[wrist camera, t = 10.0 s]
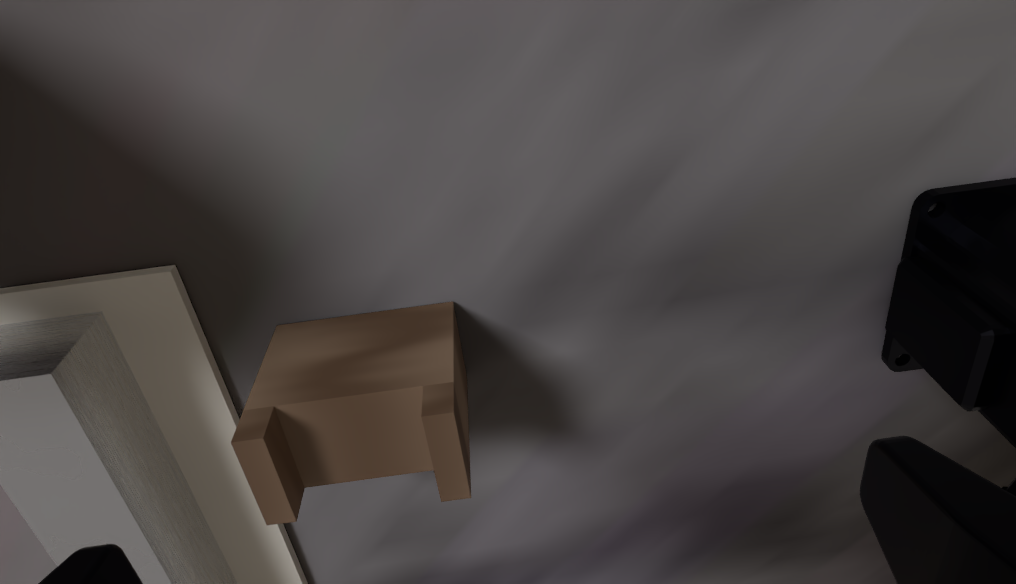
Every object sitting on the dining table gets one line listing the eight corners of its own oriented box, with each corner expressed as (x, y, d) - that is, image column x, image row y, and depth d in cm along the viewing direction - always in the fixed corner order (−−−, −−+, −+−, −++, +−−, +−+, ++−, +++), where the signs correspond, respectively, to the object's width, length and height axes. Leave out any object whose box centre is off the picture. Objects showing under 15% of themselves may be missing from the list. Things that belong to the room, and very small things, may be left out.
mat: (175, 264, 20) (170, 271, 20) (360, 709, 32) (359, 718, 32) (-99, 301, 20) (-109, 309, 20) (191, 732, 32) (188, 741, 32)
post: (453, 301, 21) (454, 412, 17) (467, 377, 23) (470, 497, 18) (277, 325, 21) (230, 442, 17) (302, 399, 23) (266, 525, 18)
